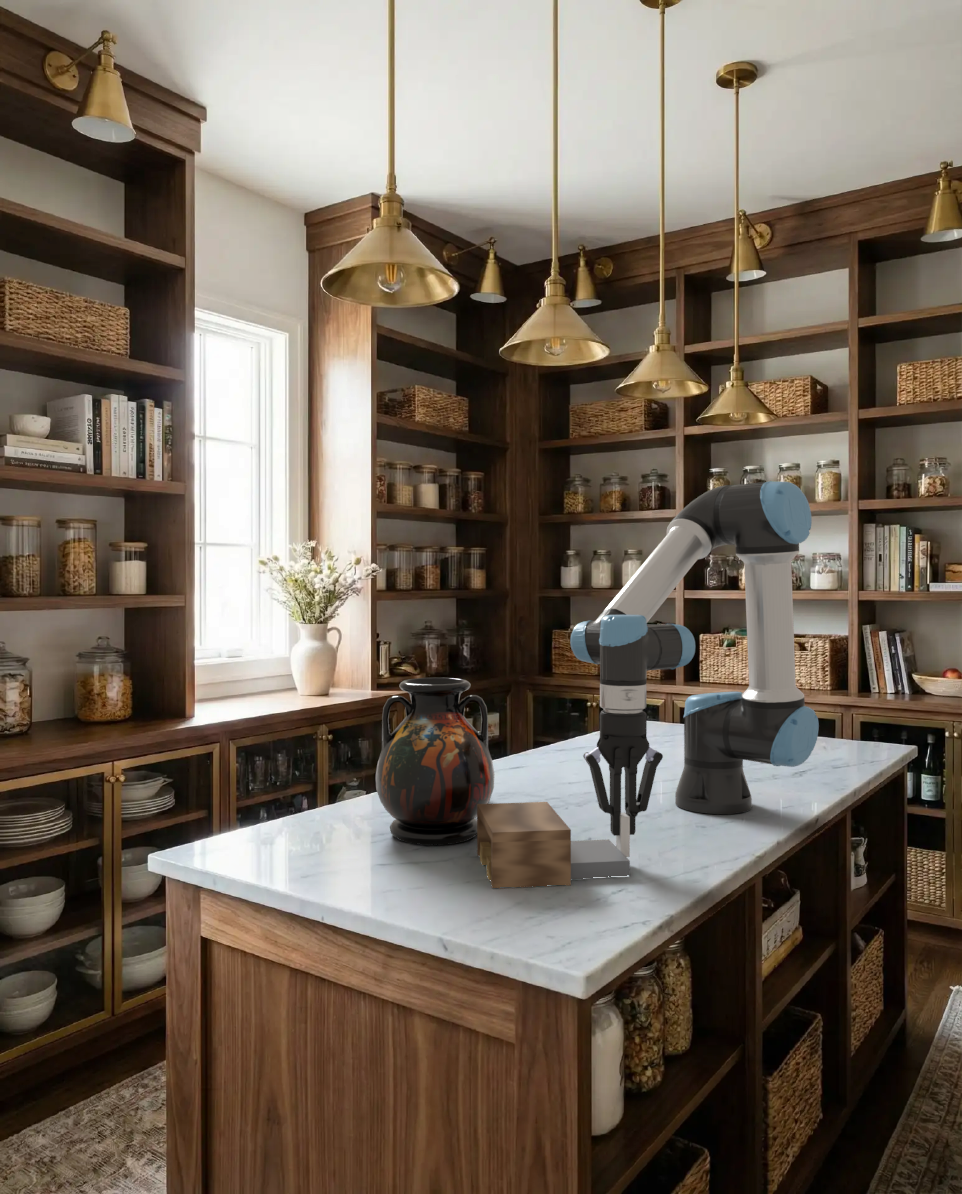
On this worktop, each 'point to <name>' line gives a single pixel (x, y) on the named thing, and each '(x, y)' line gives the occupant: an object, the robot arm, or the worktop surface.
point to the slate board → (597, 859)
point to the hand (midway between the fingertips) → (622, 854)
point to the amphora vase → (434, 764)
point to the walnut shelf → (523, 844)
